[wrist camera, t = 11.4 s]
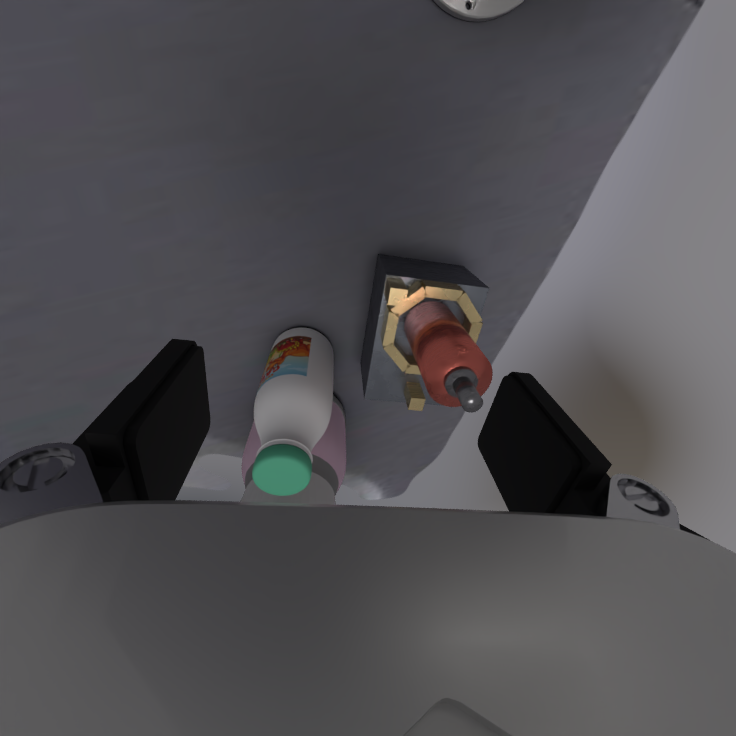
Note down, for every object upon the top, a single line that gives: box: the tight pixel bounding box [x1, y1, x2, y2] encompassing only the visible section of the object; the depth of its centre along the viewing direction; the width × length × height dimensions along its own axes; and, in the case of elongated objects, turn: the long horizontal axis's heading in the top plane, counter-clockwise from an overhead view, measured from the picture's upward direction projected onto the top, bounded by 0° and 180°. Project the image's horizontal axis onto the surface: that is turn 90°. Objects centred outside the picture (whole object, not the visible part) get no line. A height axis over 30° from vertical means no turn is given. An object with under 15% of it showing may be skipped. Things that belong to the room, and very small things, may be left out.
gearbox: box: [360, 254, 489, 411], centre depth 38 cm, size 14×11×11 cm
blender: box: [240, 395, 346, 505], centre depth 36 cm, size 16×12×32 cm
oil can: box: [404, 301, 492, 412], centre depth 29 cm, size 5×5×13 cm
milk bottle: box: [252, 327, 334, 496], centre depth 36 cm, size 8×8×20 cm
